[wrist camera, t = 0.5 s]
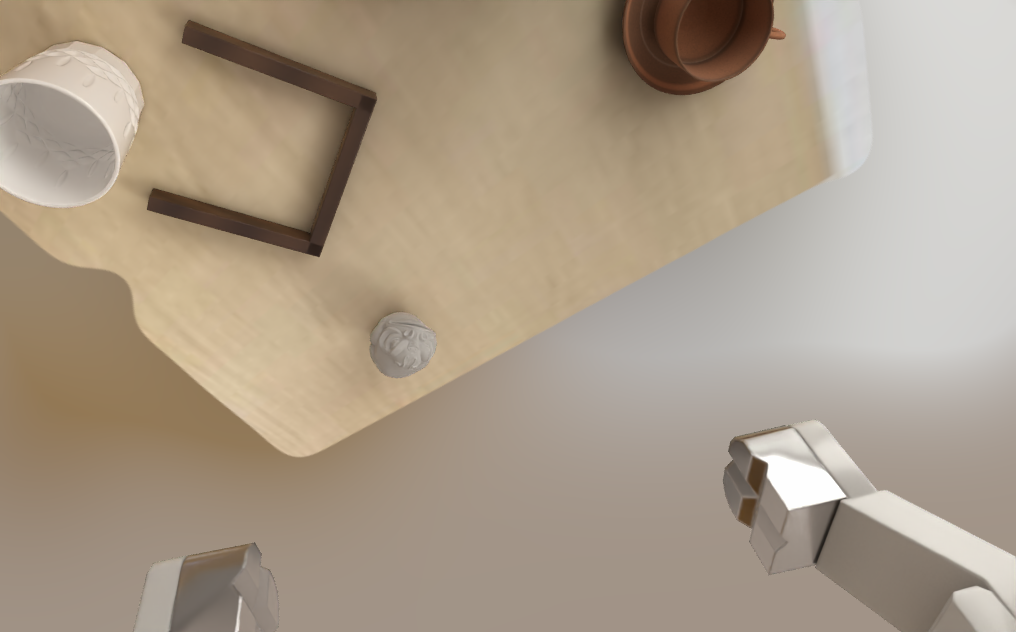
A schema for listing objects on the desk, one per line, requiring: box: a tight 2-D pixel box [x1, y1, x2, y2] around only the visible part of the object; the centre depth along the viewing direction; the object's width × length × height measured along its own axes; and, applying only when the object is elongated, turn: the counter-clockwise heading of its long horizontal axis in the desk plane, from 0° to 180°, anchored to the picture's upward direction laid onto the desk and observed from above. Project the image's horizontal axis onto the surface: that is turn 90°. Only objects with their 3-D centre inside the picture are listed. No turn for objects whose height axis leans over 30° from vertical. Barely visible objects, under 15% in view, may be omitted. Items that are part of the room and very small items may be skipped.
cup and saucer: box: [622, 0, 786, 95], centre depth 50 cm, size 12×12×6 cm
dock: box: [147, 20, 377, 257], centre depth 51 cm, size 13×14×2 cm
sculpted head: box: [370, 312, 437, 378], centre depth 61 cm, size 6×7×7 cm
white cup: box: [0, 41, 144, 208], centre depth 43 cm, size 8×8×10 cm
